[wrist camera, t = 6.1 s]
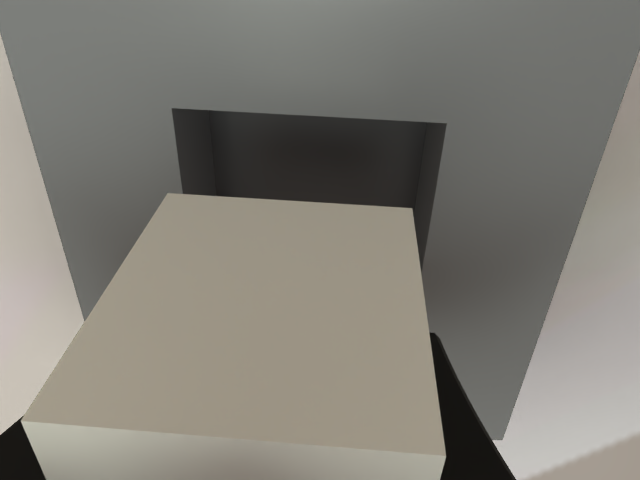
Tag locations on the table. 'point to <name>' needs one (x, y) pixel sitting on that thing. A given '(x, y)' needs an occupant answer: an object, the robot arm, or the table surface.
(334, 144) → the socket board
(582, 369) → the table surface
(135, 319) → the plug
